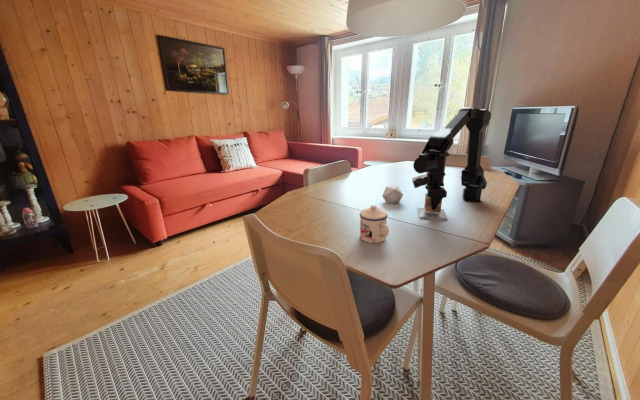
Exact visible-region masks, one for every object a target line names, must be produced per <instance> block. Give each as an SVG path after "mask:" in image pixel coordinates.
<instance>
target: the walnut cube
mask: <svg viewBox="0 0 640 400" xmlns="http://www.w3.org/2000/svg"><path fill="white" fill-rule="evenodd" d="M442 203H443V199H442V200H441V201H440V203H439V204H438V206H437V207H436V209H435V210H432V206H431V198H430V197H428V195H427V193H426V194H425V199H424V207H423V208H425V211H426V212H441V209H442Z"/></svg>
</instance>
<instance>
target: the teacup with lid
mask: <svg viewBox="0 0 640 400" xmlns="http://www.w3.org/2000/svg"><path fill="white" fill-rule="evenodd" d="M388 217H389V216H388V212H386V210H384V209H381V208H378V207H377V205H375V204H371V205H370V207H368V208H364V209H362V210H361V211H360V212H359V219H360V220H359V221H360V223H359V231H360V232H359V235H360V236H359V237H360V239H361V240H362V241H364V242H366V243H367V244H368V243H369V244H379V243H380V244H381V243H383V242H384V241H386V238H387V237H388V236H389V234H390V233H389V232H390V230H389V226H388V225H387V219H388Z"/></svg>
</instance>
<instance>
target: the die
mask: <svg viewBox="0 0 640 400" xmlns="http://www.w3.org/2000/svg"><path fill="white" fill-rule="evenodd" d="M402 192H403V191H401V189H400V188H399V187H398V185H392V186H385V188H384V192H383V194H382V195H381V196H382V198H383V199H384V201H385V203H386V205H398V204H399V203H401V199H402V198H403V197H404V196H403V195H404V194H403V193H402Z"/></svg>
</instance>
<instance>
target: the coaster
mask: <svg viewBox="0 0 640 400" xmlns="http://www.w3.org/2000/svg"><path fill="white" fill-rule="evenodd" d="M417 211H418V219H421V220H422V219H424V220H437V221H448V216H447V215H446V211H445V209H444V208H441V212H426V211H425V207H417Z"/></svg>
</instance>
